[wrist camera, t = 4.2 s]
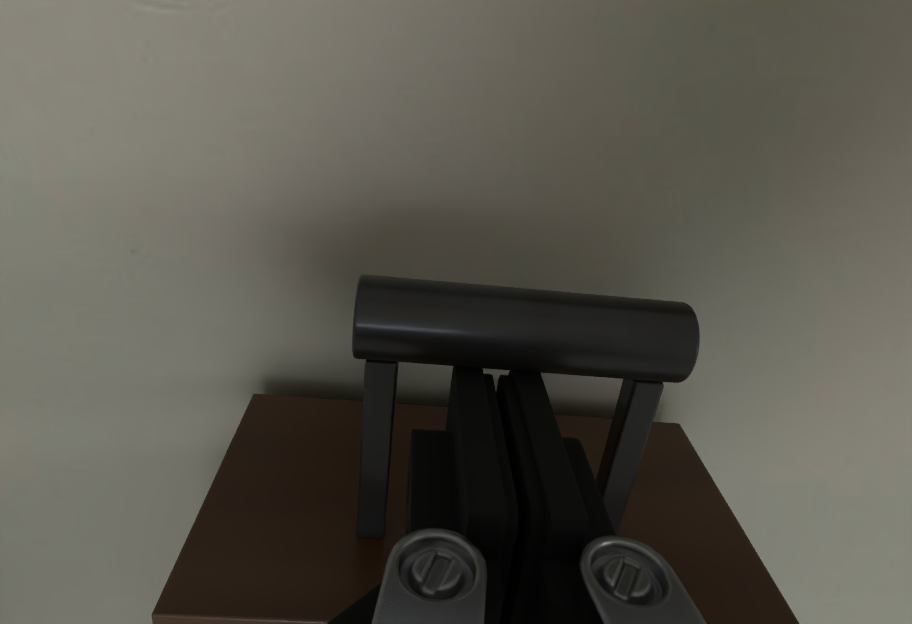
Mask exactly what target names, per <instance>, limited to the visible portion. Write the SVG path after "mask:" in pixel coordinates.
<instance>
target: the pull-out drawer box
mask: <svg viewBox="0 0 912 624" xmlns="http://www.w3.org/2000/svg"><path fill="white" fill-rule="evenodd" d="M352 351H353V356H354V358H356V359H366V360H365V371H364V390H363V401H350V400H336V399H321V398H307V397H293V396H278V395H264V394H253V396H252V398H251V400H250V402H249V405H248V407H247V409H246V411H245V413H244V415H243V418H242V420H241V422H240V424H239V426H238V428H237V431H236V433H235V435H234V437H233V439H232V441H231V444H230V446H229V448H228V450H227V452H226V455H225V457H224V459H223V461H222V463H221V465H220V468H219V470H218V472H217V474H216V476H215V478H214V481H213V483H212V485H211V487H210V489H209V491H208V494H207V496H206V498H205V500H204V502H203V504H202V507H201V509H200V511H199V513H198V515H197V517H196V520H195V522H194V524H193V526H192V528H191V530H190V533H189V535H188V537H187V539H186V541H185V544H184V546H183V548H182V550H181V552H180V554H179V557H178V559H177V561H176V563H175V565H174V567H173V570H172V572H171V574H170V576H169V578H168V580H167V583H166V585H165V587H164V589H163V591H162V593H161V596H160V598H159V600H158V602H157V604H156V606H155V609H154V611H153V613H152V620H153V624H327V623H328V622H330V621H331V620H332V619H334V618H335V617H336V616H338V615H339V614H340V613H342V612H343V611H344V610H346V609H347V608H348V607H350V606H351V605H352V604H354V603H355V602H356V601H358V600H359V599H360V598H361V597H363V596H364V595H365V594H367V593H368V592H369V591H371V590H372V589H373V588H375V587H376V586H377V585H379V584H380V583H381V582H382V580H383V576H384V572H385V568H386V564H387V560H388V557H389V555H390V553H391V551H392V548H393V546H394V545H395V544H396V543H397V542H398V541H399V540H400V539H401V538H402V537H404V536H405V516H406V492H407V476H408V463H409V452H410V441H411V432H412V429H426V430H444V431H445V428H446V420H447V412H448V407H436V406H422V405H407V404H395V400H396V388H397V375H398V363H399V362H409V363H422V364H435V365H448V366H462V367H475V368H488V369H501V370H515V371H528V372H541V373H554V374H567V375H581V376H594V377H607V378H620V379H623V383H622V386H621V390H620V394H619V397H618V401H617V405H616V408H615V412H614V416H613V419H608V418H593V417H579V416H565V415H555V418H556V421H557V424H558V427H559V430H560V433H561V436H562V437H570V438H577V439H579V440H580V442H581V444H582V446H583V449H584V451H585V454H586V457H587V459H588V462H589V465H590V467H591V470H592V473H593V475H594V478H595V481H596V483H597V486H598V489H599V491H600V494H601V497H602V499H603V502H604V505H605V507H606V510H607V513H608V515H609V518H610V521H611V523H612V526H613V529H614V531H615V534H616V536H624V537H628V538H632V539H635V540H638V541H640V542H642V543H644V544H646V545H648V546H650V547H651V548H653V549H654V550H655V551H656V552H658V553H659V554H660V555H661V556H663V557H664V559H665V560H666V561H667V562H668V564H669V565H670V566H671V567H672V569H673V570H674V572H675V573H676V575H677V577H678V578H679V580H680V581H681V583H682V584H683V586H684V588H685V589H686V591H687V592H688V594H689V596H690V597H691V599H692V600H693V602H694V604H695V605H696V607H697V608H698V610H699V612H700V613H701V615H702V616H703V618H704V620H706V621H707V622H709V623H710V624H799V622H798V621H797V619H796V617H795V616H794V614H793V612H792V611H791V609H790V607H789V606H788V604H787V602H786V601H785V599H784V597H783V596H782V594H781V592H780V591H779V589H778V587H777V586H776V584H775V582H774V581H773V579H772V577H771V576H770V574H769V572H768V571H767V569H766V567H765V566H764V564H763V562H762V561H761V559H760V557H759V556H758V554H757V552H756V551H755V549H754V547H753V546H752V544H751V542H750V541H749V539H748V537H747V536H746V534H745V532H744V531H743V529H742V527H741V526H740V524H739V522H738V521H737V519H736V517H735V516H734V514H733V512H732V511H731V509H730V507H729V506H728V504H727V502H726V501H725V499H724V497H723V496H722V494H721V492H720V491H719V489H718V487H717V486H716V484H715V482H714V481H713V479H712V477H711V476H710V474H709V472H708V471H707V469H706V467H705V466H704V464H703V462H702V461H701V459H700V457H699V456H698V454H697V452H696V451H695V449H694V447H693V446H692V444H691V442H690V441H689V439H688V437H687V436H686V434H685V433H684V431H683V429H682V428H681V426H680V424H678V423H665V422H653V419H654V416H655V413H656V409H657V406H658V403H659V400H660V396H661V393H662V390H663V386H664V385H663V382H673V383H679V382H682V381H684V380H686V379H687V378H688V377H689V375H690V374H691V372H692V370H693V368H694V366H695V363H696V360H697V356H698V351H699V325H698V321H697V317H696V314H695V312H694V310H693V309H692V307H691V306H689V305H688V304H686V303H684V302H674V301H663V300H651V299H640V298H628V297H617V296H605V295H594V294H582V293H571V292H559V291H548V290H536V289H525V288H513V287H502V286H490V285H479V284H467V283H456V282H444V281H433V280H421V279H410V278H398V277H387V276H375V275H361V276H360V278H359V281H358V286H357V292H356V299H355V308H354V319H353V336H352Z"/></svg>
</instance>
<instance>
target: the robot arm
mask: <svg viewBox="0 0 912 624" xmlns="http://www.w3.org/2000/svg"><path fill="white" fill-rule="evenodd" d="M327 624H710V623H709V622H707V621H706V620H704V618H703V616H702V615H701V613H700V612H699V610H698V608H697V607H696V605H695V604H694V602H693V600H692V599H691V597H690V596H689V594H688V592H687V591H686V589H685V588H684V586H683V584H682V583H681V581H680V580H679V578H678V577H677V575H676V573H675V572H674V570H673V569H672V567H671V566H670V565H669V564H668V562H667V561H666V560H665V559H664V557H663V556H661V555H660V554H659V553H658V552H656V551H655V550H654V549H653V548H651V547H650V546H648V545H646V544H644V543H642V542H640V541H638V540H635V539H632V538H628V537H624V536H616V534H615V531H614V529H613V526H612V523H611V521H610V518H609V515H608V513H607V510H606V507H605V505H604V502H603V499H602V497H601V494H600V491H599V489H598V486H597V483H596V481H595V478H594V475H593V473H592V470H591V467H590V465H589V462H588V459H587V457H586V454H585V451H584V449H583V446H582V444H581V442H580V440H579V439H577V438H570V437H562V436H561V433H560V430H559V427H558V424H557V421H556V418H555V415H554V412H553V409H552V406H551V403H550V400H549V397H548V394H547V391H546V388H545V385H544V382H543V379H542V376H541V373H540V372H528V371H515V370H510V371H509V375H500V376H499V380H498V385H497V391H496V390H495V385H494V380H493V376H492V374H483V369H482V368H475V367H462V366H453V371H452V379H451V387H450V396H449V404H448V412H447V420H446V428H445V431H444V430H426V429H412V432H411V441H410V452H409V463H408V476H407V492H406V516H405V536H404V537H402V538H401V539H400V540H399V541H398V542H397V543H396V544H395V545H394V546H393V548H392V551H391V553H390V555H389V557H388V560H387V564H386V568H385V572H384V576H383V580H382V582H381V583H380V584H379V585H377V586H376V587H375V588H373V589H372V590H371V591H369V592H368V593H367V594H365V595H364V596H363V597H361V598H360V599H359V600H358V601H356V602H355V603H354V604H352V605H351V606H350V607H348V608H347V609H346V610H344V611H343V612H342V613H340V614H339V615H338V616H336V617H335V618H334V619H332V620H331V621H330V622H328V623H327Z"/></svg>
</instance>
